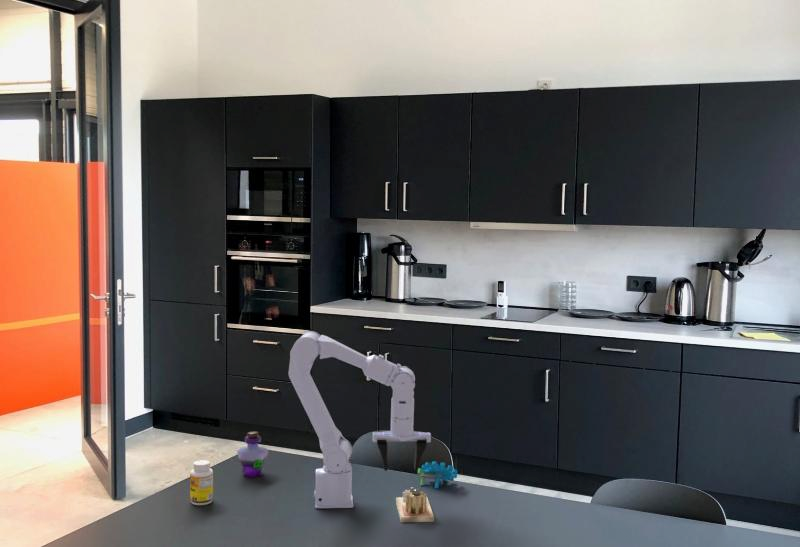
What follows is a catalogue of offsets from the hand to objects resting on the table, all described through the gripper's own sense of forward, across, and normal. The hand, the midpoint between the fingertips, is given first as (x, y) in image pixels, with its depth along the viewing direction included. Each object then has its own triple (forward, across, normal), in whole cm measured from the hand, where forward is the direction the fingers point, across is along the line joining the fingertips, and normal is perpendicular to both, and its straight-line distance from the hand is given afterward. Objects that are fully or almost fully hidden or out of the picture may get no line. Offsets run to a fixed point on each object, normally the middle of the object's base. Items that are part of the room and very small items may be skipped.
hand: (400, 469), depth 199 cm
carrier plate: (+9, +3, -4) cm, 11 cm away
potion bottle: (+10, -39, +24) cm, 47 cm away
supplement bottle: (+10, -50, +4) cm, 51 cm away
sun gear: (+8, +3, 0) cm, 9 cm away
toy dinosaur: (+10, +12, +15) cm, 21 cm away
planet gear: (+8, +3, -7) cm, 11 cm away
